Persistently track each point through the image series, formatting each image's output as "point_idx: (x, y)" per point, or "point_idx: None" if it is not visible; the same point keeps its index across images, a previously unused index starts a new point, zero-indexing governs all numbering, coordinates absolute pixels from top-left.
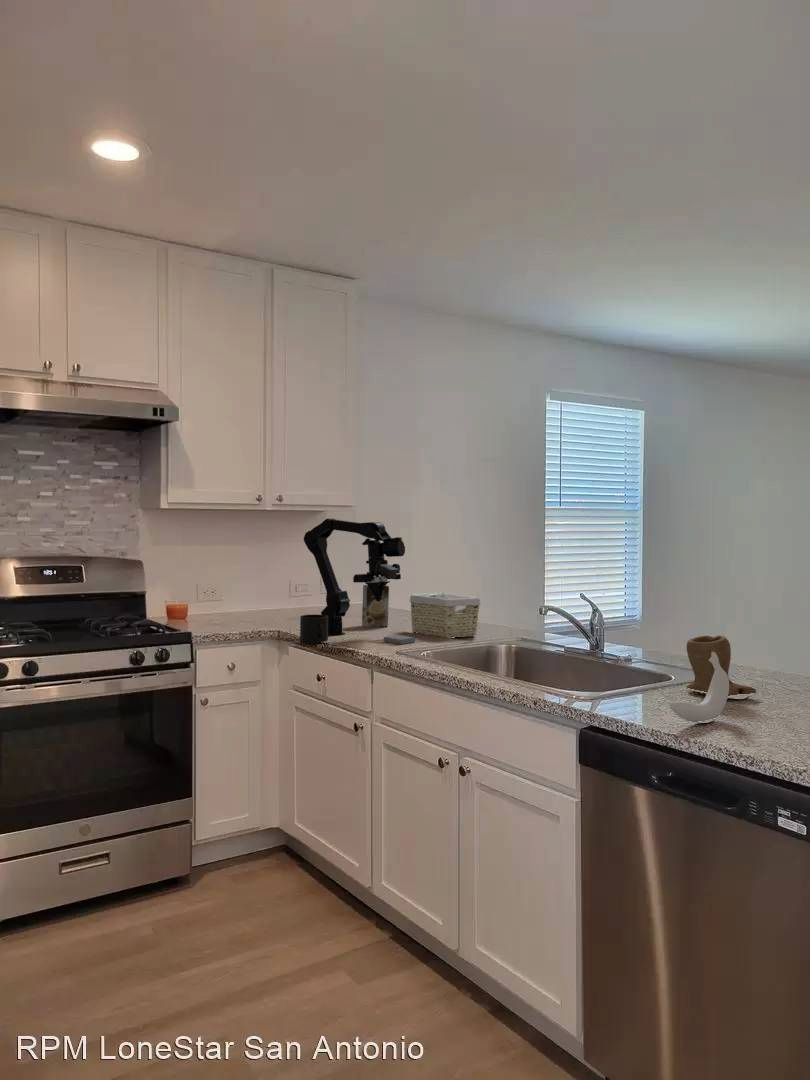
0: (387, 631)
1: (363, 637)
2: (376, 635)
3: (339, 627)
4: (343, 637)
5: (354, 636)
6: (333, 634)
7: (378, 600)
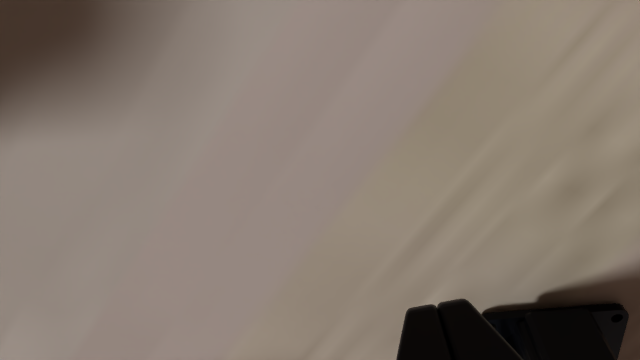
0: (66, 310)
1: (460, 126)
2: (274, 174)
3: (575, 347)
4: (607, 202)
5: (487, 208)
6: (605, 307)
7: (476, 311)
